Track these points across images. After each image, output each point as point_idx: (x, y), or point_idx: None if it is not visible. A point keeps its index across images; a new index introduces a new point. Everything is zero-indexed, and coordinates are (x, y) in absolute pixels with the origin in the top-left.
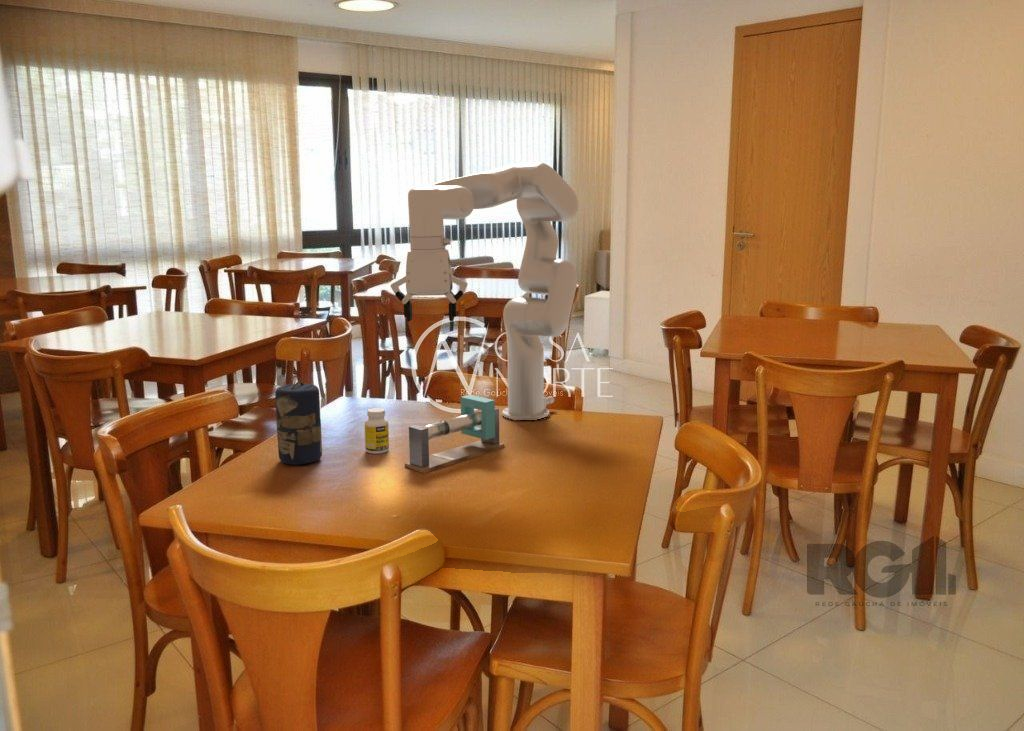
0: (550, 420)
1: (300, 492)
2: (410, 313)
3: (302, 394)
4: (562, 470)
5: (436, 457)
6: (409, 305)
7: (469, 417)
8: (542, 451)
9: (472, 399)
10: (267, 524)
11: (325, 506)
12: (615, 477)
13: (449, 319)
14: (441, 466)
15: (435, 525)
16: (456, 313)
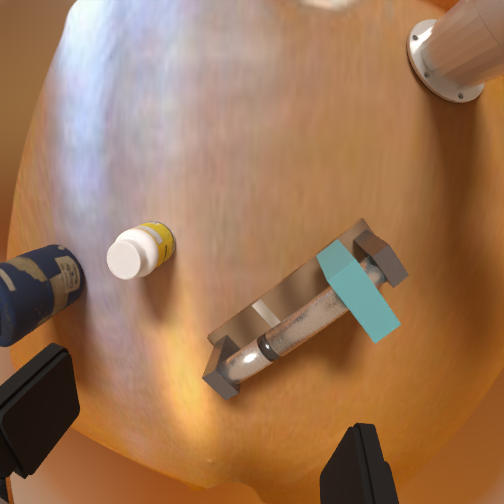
0: (482, 106)
1: (99, 386)
2: (55, 421)
3: (7, 346)
4: (429, 373)
5: (260, 318)
6: (31, 470)
7: (333, 320)
8: (438, 290)
9: (352, 311)
10: (104, 441)
11: (137, 427)
12: (465, 394)
13: (321, 482)
14: None
15: (249, 480)
16: (389, 468)
